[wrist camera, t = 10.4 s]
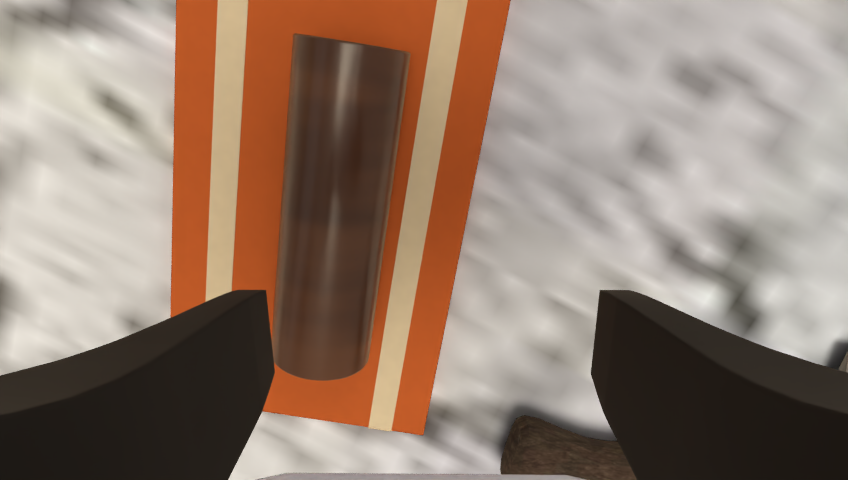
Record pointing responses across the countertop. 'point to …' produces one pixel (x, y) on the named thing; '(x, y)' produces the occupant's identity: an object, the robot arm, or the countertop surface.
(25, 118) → the countertop surface
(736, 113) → the countertop surface
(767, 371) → the robot arm
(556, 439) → the cleaver
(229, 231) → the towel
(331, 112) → the rolling pin
